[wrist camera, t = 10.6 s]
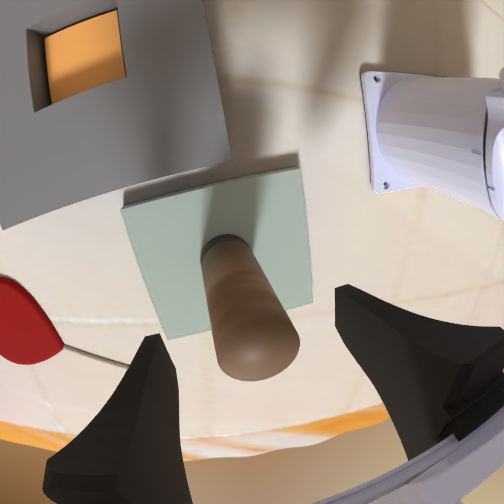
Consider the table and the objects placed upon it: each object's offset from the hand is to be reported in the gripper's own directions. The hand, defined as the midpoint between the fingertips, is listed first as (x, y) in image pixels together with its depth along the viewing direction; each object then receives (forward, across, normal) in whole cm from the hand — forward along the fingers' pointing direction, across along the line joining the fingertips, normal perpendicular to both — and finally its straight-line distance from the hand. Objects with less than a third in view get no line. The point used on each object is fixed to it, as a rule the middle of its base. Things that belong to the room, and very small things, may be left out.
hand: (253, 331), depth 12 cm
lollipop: (+8, +13, +4) cm, 16 cm away
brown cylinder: (+6, 0, 0) cm, 7 cm away
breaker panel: (+7, +5, -13) cm, 16 cm away
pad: (+7, 0, 0) cm, 7 cm away
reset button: (+7, +5, -13) cm, 15 cm away
